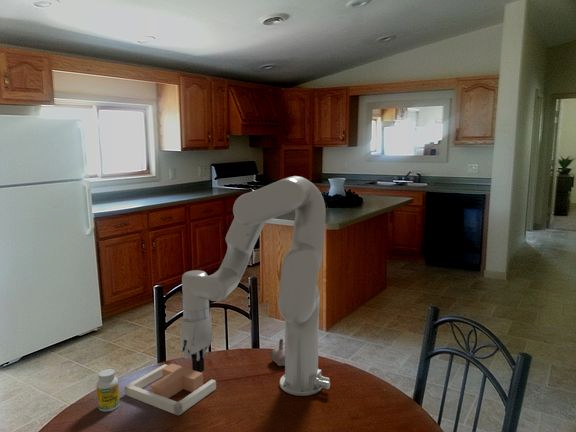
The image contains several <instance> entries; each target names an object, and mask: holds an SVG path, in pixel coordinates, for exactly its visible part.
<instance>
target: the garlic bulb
mask: <svg viewBox="0 0 576 432" xmlns="http://www.w3.org/2000/svg"><path fill="white" fill-rule="evenodd" d="M283 340H284V339H283V338H280V339H279V342H278V346H279V347H275V348H274V349H272V350H271V352H270V359H271V360H272V362H274V363H276V365H277V366H279V367H283V366H284V367H285V347H284V341H283Z"/></svg>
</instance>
